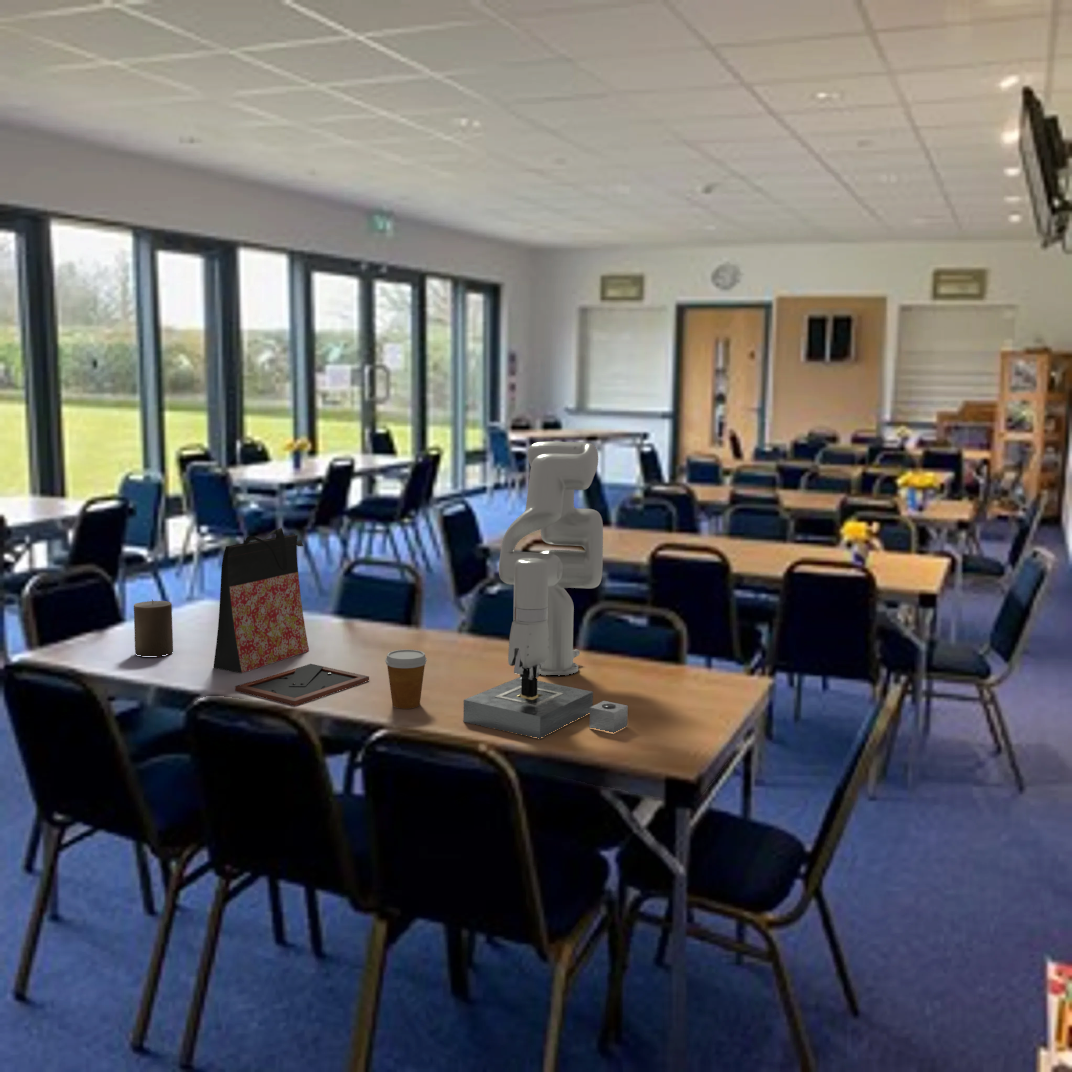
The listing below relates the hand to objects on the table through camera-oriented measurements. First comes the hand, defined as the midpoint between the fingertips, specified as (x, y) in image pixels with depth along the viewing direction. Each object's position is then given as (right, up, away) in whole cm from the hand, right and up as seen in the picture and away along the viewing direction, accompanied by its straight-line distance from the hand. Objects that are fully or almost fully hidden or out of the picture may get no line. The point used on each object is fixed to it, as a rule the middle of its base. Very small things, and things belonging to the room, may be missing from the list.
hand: (529, 695), depth 232 cm
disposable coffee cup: (-28, -4, +9) cm, 30 cm away
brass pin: (0, -5, +1) cm, 5 cm away
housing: (+17, -6, -5) cm, 19 cm away
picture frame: (-55, -2, +22) cm, 60 cm away
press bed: (0, -5, +1) cm, 5 cm away
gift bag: (-70, +3, +47) cm, 84 cm away
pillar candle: (-102, +3, +50) cm, 113 cm away
